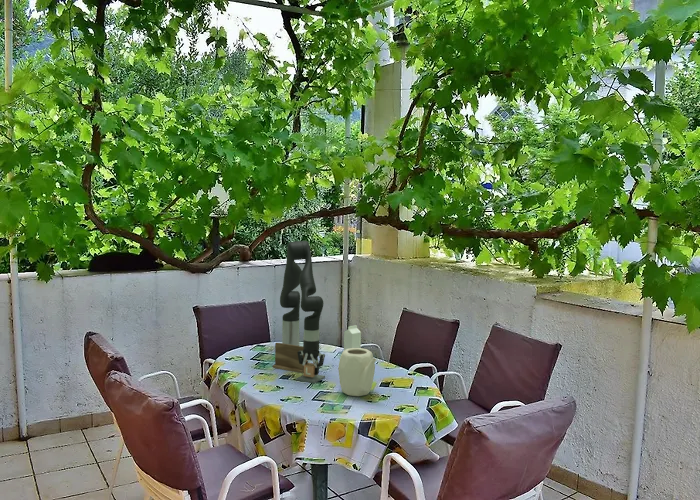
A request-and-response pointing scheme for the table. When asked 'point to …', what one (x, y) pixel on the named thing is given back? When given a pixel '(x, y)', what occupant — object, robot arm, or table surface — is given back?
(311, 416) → the table surface
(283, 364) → the walnut screen
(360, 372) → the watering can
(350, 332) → the milk
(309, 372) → the letter cube
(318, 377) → the slate pad
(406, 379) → the table surface
